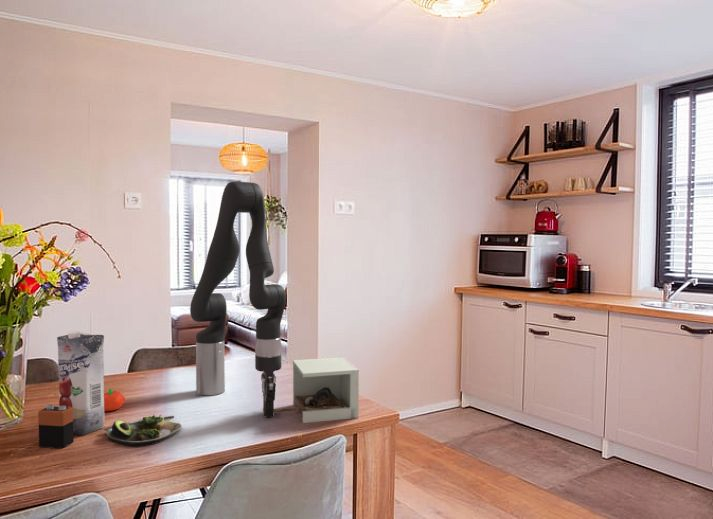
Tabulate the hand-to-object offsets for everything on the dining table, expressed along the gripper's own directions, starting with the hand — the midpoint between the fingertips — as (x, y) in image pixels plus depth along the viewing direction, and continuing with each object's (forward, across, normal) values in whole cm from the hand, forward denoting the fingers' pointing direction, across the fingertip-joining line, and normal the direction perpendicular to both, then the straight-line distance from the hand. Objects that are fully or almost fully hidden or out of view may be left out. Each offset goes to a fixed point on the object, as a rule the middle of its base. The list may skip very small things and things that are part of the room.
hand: (268, 411), depth 158 cm
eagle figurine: (+2, -1, +15) cm, 15 cm away
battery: (+2, +8, -54) cm, 54 cm away
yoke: (+1, 0, +10) cm, 10 cm away
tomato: (+2, -19, -45) cm, 49 cm away
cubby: (+1, 0, +16) cm, 16 cm away
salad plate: (+2, +6, -34) cm, 34 cm away
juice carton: (+2, -2, -50) cm, 50 cm away
